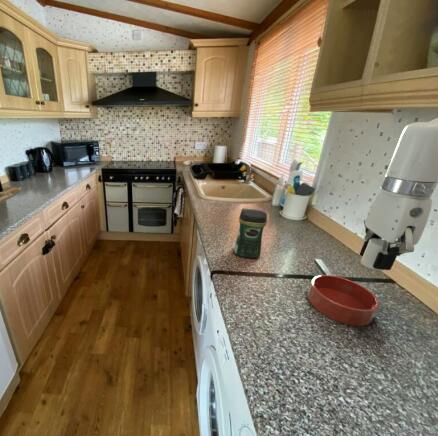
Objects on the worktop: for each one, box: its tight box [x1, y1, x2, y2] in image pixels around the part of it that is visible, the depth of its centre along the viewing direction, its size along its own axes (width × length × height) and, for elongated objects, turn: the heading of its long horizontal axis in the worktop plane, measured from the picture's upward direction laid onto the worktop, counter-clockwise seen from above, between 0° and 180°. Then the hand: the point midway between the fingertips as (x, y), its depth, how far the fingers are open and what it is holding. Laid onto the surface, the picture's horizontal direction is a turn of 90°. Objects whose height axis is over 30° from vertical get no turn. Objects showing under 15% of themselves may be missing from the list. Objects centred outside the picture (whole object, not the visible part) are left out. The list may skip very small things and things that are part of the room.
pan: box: [307, 274, 381, 327], centre depth 69 cm, size 15×15×5 cm
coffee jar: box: [233, 207, 268, 259], centre depth 93 cm, size 10×8×19 cm
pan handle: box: [313, 258, 334, 276], centre depth 80 cm, size 2×10×1 cm, turn 167°
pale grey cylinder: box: [360, 238, 396, 272], centre depth 56 cm, size 4×4×6 cm
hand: (374, 261), depth 57 cm, fingers closed on pale grey cylinder, 4 cm apart
